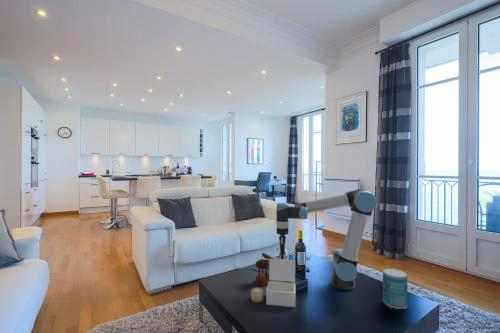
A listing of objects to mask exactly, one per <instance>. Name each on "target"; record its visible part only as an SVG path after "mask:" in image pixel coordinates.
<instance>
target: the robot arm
mask: <svg viewBox="0 0 500 333" xmlns="http://www.w3.org/2000/svg"><path fill="white" fill-rule="evenodd" d="M377 203H378V200H377V198H376V196H375V195H374V193H372V192H371V191H369V190H367V189H364V188H358V189H355V190H351V191H347V192H344V194H340V195H335V196H331V197H324V198H320V199H315V200H311V201H310V200H309V201H305V202H297V203H295V204H294V206H290V205H289V203H287V202H278V203H276V210H275V211H276V213H275V214H276V217H275V218H276V221H275V224H276V234H277V235H279V239H278V240H279V249H280V250H279V254H278V255H279V257H280V258H279V259H284V260H286V253H287V252H286V250H285V249H286V239H287V237H286V235H289V219H293V220H294V219H295V220H308V216H309V214H312V213H317V212H322V211H328V210H334V209H338V208H344V207H347V208H350V211H351V213H352V214H351V217H350V220H349V224H348V228H347V232H346V235H345V238H344V242H343V245H342V248H334V249H333V250H332V274H331V276H330V279H329V281H330V282H329V284H330V286H332V287H333V288H335V289H337V290H339V291H340V290H341V291H352V290H354V289H355V288H356V283H355V279H356V278H357V276H358V269H357V267H358V266H359V265H358V264H359V261H360V260H359V257H358V254H359V249H360V247H361V242H362V239H363V236H364V231H365V228H366V224H367V220H368V218H370V217H372V214H373V211H374V210H375V208H376V207H377Z"/></svg>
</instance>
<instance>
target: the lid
mask: <svg viewBox="0 0 500 333" xmlns="http://www.w3.org/2000/svg"><path fill="white" fill-rule="evenodd" d="M268 261H269V270H268V274H269V280H271V281H275V282H288V283H296V260H295V259H285V260H284V259H280V258H273V259H268Z"/></svg>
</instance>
